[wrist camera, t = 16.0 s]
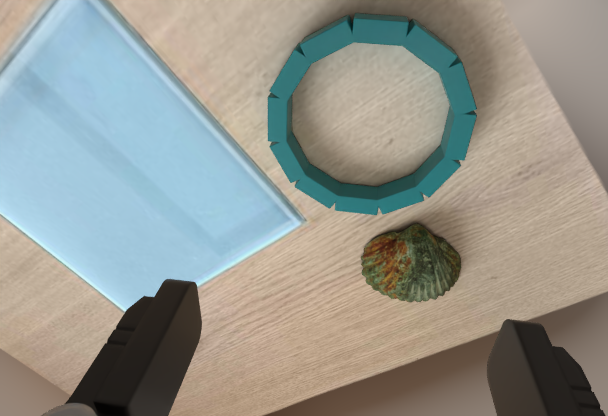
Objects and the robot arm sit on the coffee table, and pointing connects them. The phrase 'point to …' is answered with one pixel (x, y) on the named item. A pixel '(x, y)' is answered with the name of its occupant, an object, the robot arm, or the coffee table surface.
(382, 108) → the coffee table surface
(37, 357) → the coffee table surface
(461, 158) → the ring
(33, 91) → the coffee table surface
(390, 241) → the seashell
